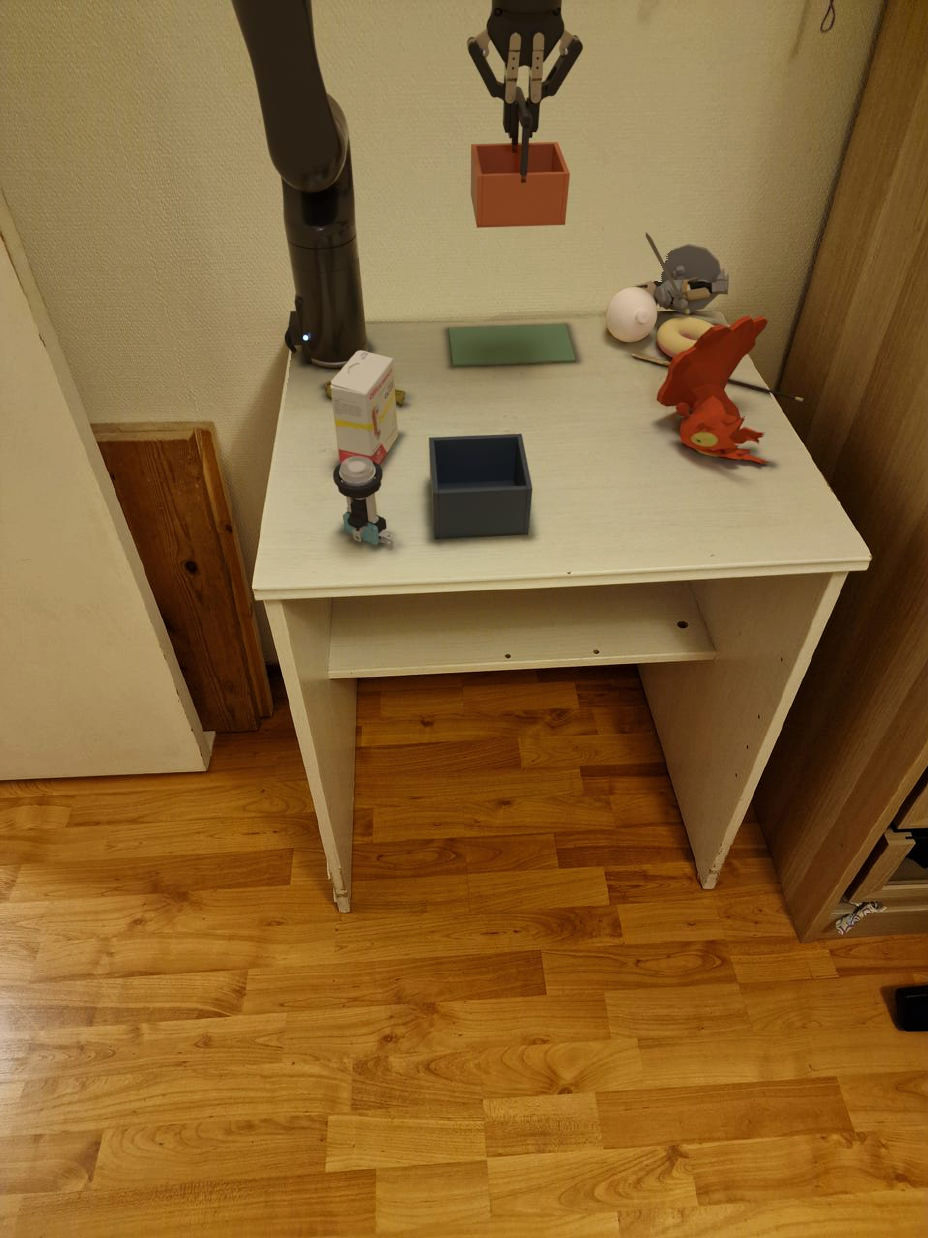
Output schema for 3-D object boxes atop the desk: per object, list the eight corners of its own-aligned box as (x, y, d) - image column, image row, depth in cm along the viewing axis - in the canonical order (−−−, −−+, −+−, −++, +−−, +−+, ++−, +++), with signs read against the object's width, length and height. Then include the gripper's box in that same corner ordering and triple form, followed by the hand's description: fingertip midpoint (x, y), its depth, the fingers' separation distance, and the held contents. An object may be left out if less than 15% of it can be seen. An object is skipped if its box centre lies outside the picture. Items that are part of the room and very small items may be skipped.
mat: (453, 366, 116) (453, 363, 116) (448, 330, 123) (448, 327, 123) (575, 361, 117) (575, 359, 117) (564, 326, 124) (565, 323, 124)
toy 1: (713, 176, 108) (605, 202, 115) (707, 244, 105) (597, 266, 112) (734, 276, 125) (639, 293, 132) (730, 337, 122) (633, 351, 129)
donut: (687, 385, 117) (732, 358, 120) (695, 361, 113) (742, 333, 116) (641, 345, 121) (685, 320, 124) (647, 321, 117) (693, 295, 119)
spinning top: (618, 347, 128) (649, 355, 117) (581, 321, 125) (608, 326, 114) (645, 302, 126) (679, 306, 115) (608, 275, 123) (639, 276, 112)
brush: (630, 352, 118) (803, 399, 110) (633, 349, 118) (804, 396, 111) (629, 357, 118) (801, 404, 111) (632, 354, 119) (802, 400, 112)
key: (408, 388, 110) (393, 407, 107) (409, 396, 111) (394, 416, 108) (332, 371, 113) (315, 390, 110) (333, 379, 114) (316, 398, 111)
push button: (406, 534, 94) (401, 466, 86) (378, 561, 91) (371, 493, 83) (361, 513, 96) (352, 444, 88) (332, 538, 93) (321, 470, 85)
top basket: (476, 227, 99) (478, 116, 89) (470, 194, 105) (471, 86, 96) (565, 224, 99) (575, 113, 90) (553, 191, 106) (562, 84, 96)
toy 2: (640, 380, 100) (712, 464, 94) (761, 288, 97) (843, 369, 90) (658, 425, 111) (723, 503, 105) (767, 344, 108) (841, 419, 102)
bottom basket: (434, 539, 93) (432, 493, 88) (430, 483, 99) (428, 437, 94) (528, 534, 94) (532, 488, 88) (518, 479, 100) (521, 433, 95)
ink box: (374, 475, 100) (366, 393, 91) (338, 466, 101) (326, 385, 92) (400, 435, 106) (395, 355, 97) (366, 428, 107) (357, 347, 98)
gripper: (588, -59, 85) (571, 123, 99) (461, -58, 85) (460, 125, 98) (601, -43, 81) (581, 146, 94) (466, -42, 80) (465, 148, 93)
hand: (519, 135), depth 96 cm, fingers closed on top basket, 1 cm apart
